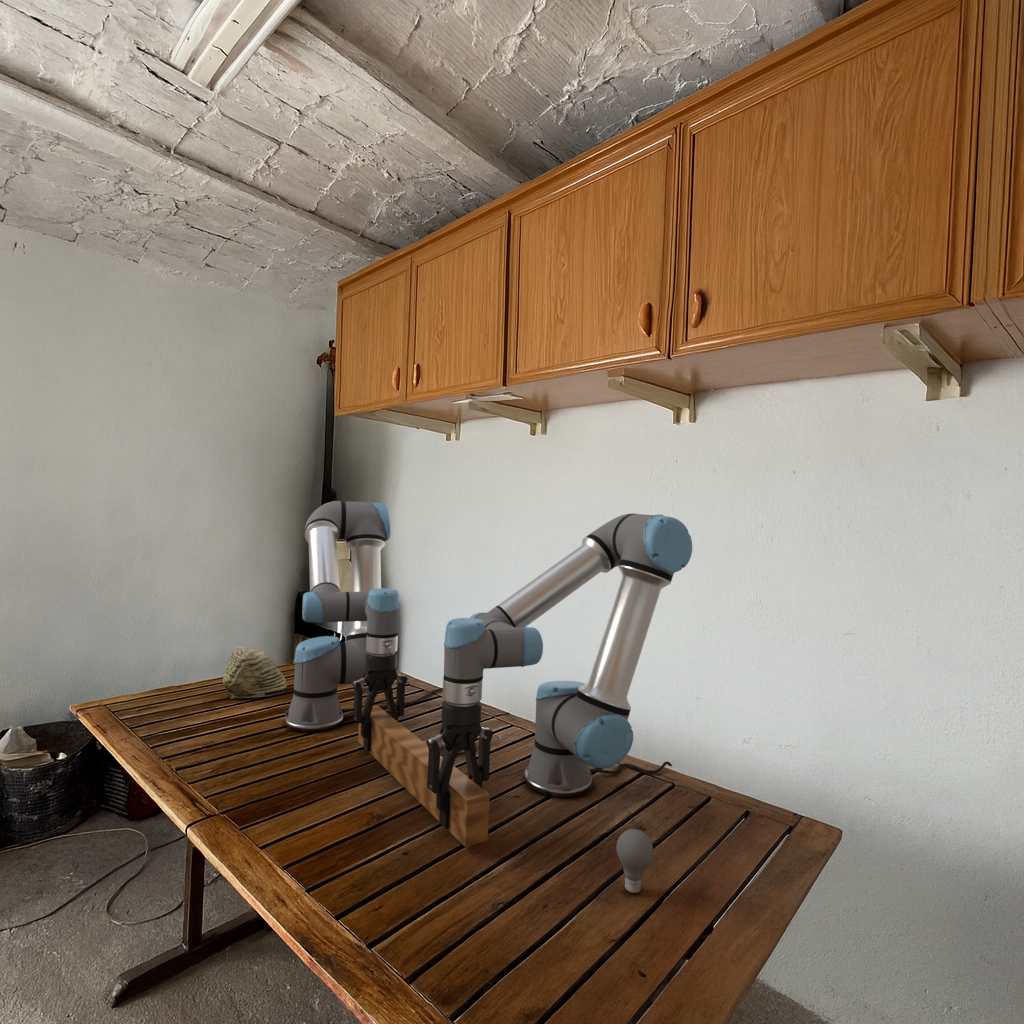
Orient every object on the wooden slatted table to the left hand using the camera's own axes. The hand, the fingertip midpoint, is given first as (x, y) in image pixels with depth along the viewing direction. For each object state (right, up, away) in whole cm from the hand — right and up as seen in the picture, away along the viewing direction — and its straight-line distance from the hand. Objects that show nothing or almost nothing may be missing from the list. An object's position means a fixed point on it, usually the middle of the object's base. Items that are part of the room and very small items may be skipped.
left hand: (377, 747), depth 155 cm
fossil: (-48, 0, +43) cm, 64 cm away
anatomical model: (+16, -3, +8) cm, 18 cm away
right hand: (+22, -2, -34) cm, 41 cm away
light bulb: (+53, -6, -49) cm, 72 cm away
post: (+11, -2, -17) cm, 20 cm away
